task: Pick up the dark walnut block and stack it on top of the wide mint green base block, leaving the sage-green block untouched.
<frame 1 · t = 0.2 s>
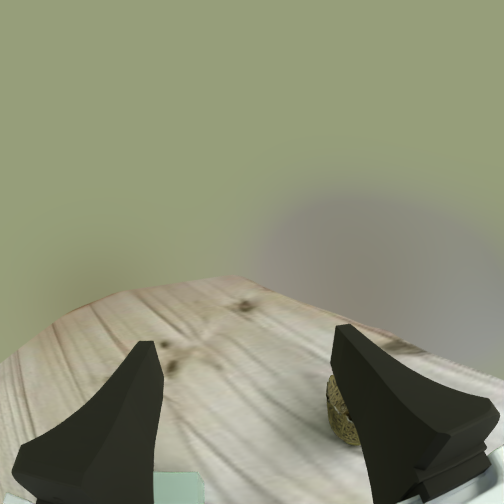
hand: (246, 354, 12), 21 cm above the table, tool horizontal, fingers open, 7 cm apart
cup: (355, 435, 28), on the table
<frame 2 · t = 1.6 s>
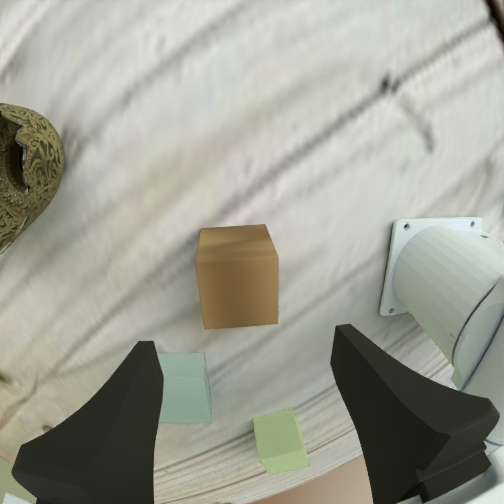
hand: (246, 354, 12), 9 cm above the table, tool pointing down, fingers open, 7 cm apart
cup: (47, 155, 17), on the table
walnut block: (234, 255, 21), on the table
mint green base block: (173, 376, 25), on the table
sage block: (277, 423, 28), on the table
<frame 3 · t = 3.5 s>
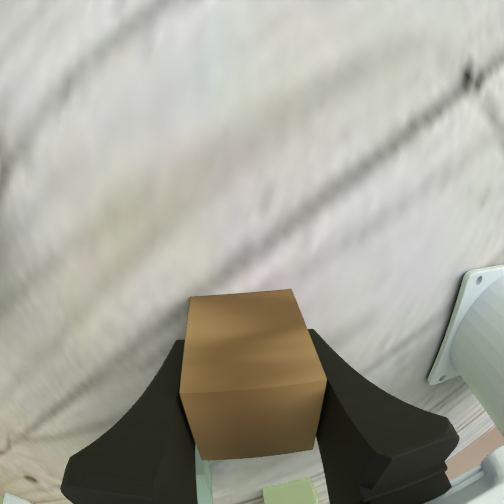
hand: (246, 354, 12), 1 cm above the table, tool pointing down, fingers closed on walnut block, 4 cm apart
walnut block: (243, 333, 13), on the table, touching gripper
mint green base block: (164, 454, 17), on the table
sage block: (290, 489, 21), on the table
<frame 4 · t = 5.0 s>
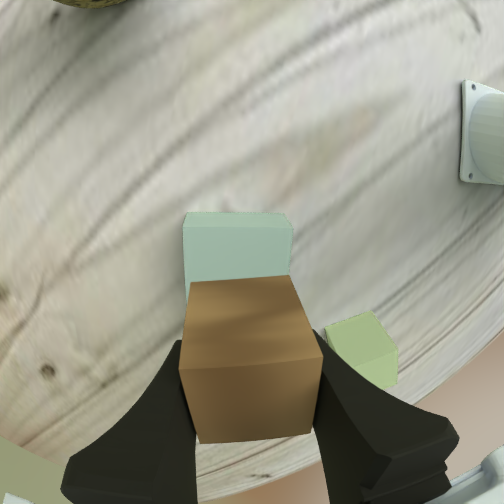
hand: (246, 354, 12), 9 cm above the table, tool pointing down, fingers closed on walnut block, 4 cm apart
walnut block: (242, 319, 14), point 7 cm above the table, touching gripper
mint green base block: (234, 255, 21), on the table
sage block: (350, 336, 24), on the table
when the fingers open (5 cm above the table, at t = 6.6 s): walnut block stays where it is, point 3 cm above the table.
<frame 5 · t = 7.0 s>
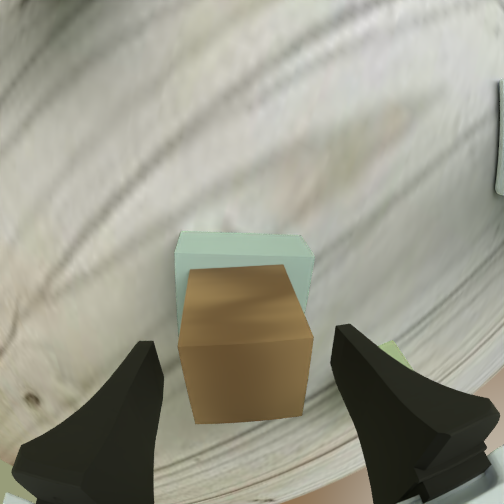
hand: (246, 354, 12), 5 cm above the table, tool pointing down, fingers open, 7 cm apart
walnut block: (238, 306, 14), point 3 cm above the table
mint green base block: (237, 282, 17), on the table
sage block: (368, 368, 21), on the table
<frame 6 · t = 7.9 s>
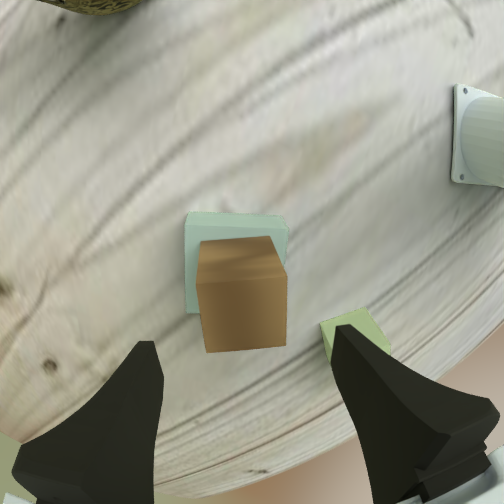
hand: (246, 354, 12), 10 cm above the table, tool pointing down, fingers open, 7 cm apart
walnut block: (237, 269, 19), point 3 cm above the table
mint green base block: (232, 253, 22), on the table
sage block: (345, 332, 25), on the table
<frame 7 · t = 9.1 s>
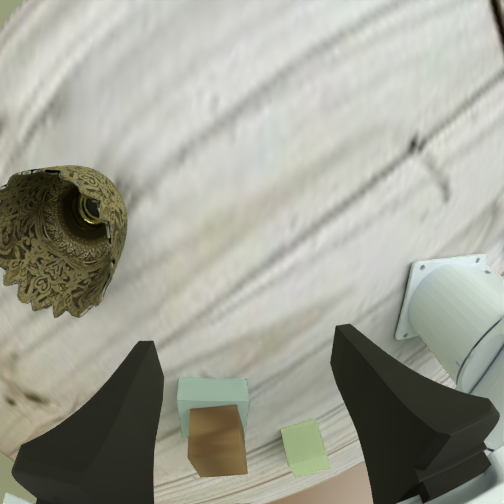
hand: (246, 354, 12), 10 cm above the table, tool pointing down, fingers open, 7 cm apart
cup: (98, 203, 19), on the table
walnut block: (217, 419, 25), point 3 cm above the table, touching mint green base block
mint green base block: (212, 396, 28), on the table, touching walnut block
sage block: (301, 431, 31), on the table
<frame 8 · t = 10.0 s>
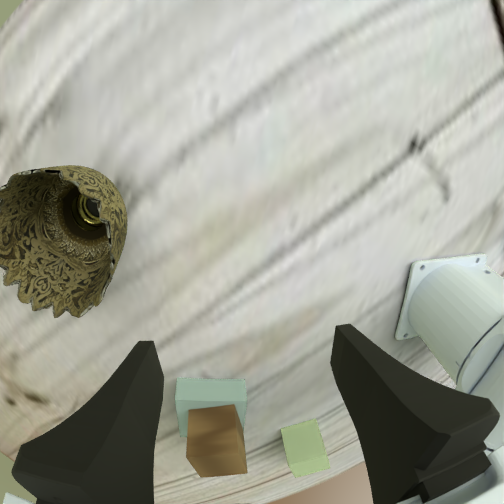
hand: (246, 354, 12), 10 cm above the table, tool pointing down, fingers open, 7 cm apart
cup: (98, 203, 19), on the table
walnut block: (216, 419, 25), point 3 cm above the table, touching mint green base block
mint green base block: (210, 396, 28), on the table, touching walnut block
sage block: (301, 431, 31), on the table
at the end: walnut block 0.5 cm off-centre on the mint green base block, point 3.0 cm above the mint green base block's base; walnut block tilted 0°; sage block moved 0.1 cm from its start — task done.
